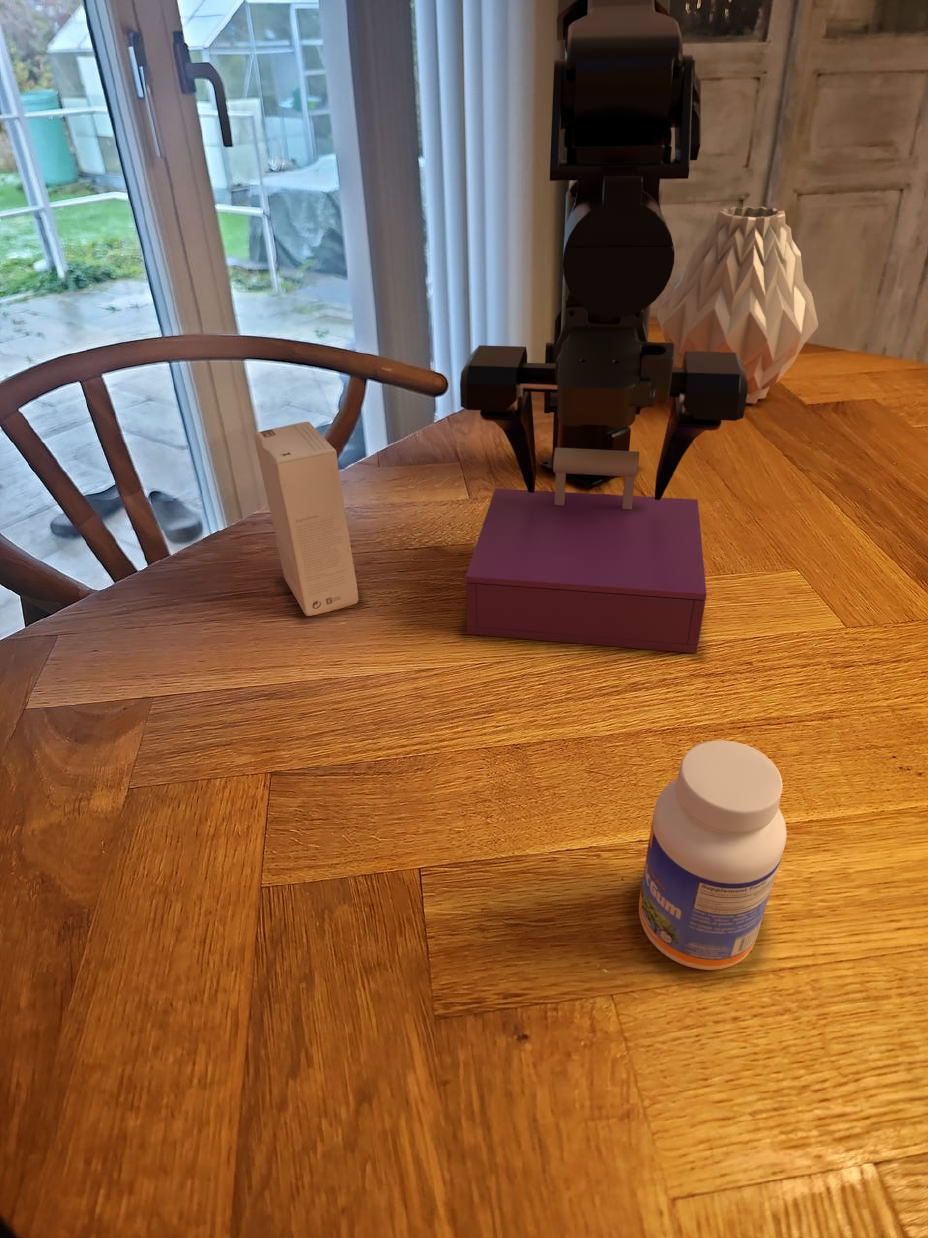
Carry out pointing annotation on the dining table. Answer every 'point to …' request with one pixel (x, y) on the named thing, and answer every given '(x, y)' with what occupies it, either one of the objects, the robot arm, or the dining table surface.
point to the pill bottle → (713, 855)
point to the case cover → (592, 535)
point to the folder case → (584, 617)
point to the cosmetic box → (308, 516)
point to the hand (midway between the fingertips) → (593, 494)
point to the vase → (743, 297)
